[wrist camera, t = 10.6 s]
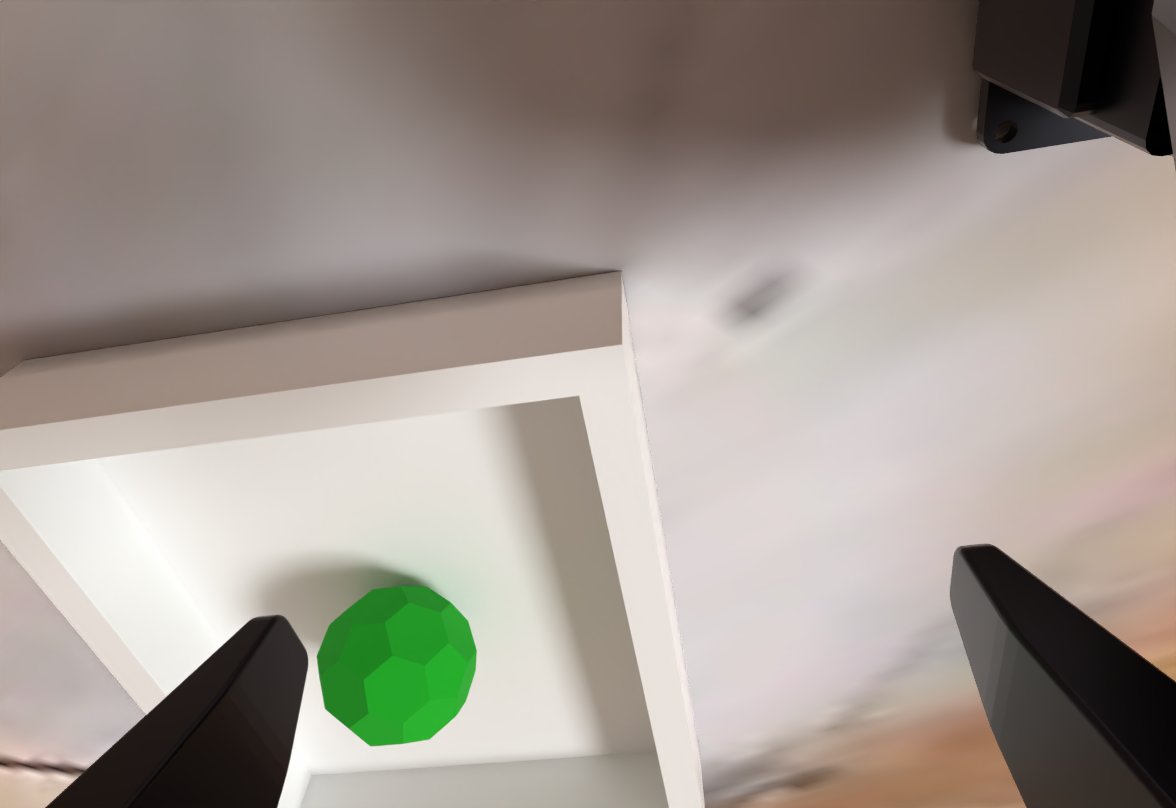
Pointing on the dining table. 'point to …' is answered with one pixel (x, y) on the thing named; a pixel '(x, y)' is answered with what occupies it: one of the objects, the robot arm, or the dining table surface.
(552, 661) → the white tray
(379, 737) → the polyhedron
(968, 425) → the dining table surface
